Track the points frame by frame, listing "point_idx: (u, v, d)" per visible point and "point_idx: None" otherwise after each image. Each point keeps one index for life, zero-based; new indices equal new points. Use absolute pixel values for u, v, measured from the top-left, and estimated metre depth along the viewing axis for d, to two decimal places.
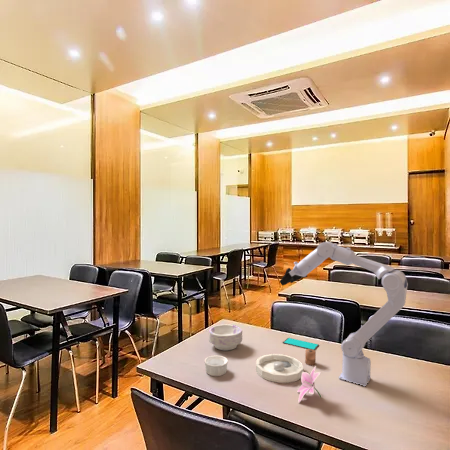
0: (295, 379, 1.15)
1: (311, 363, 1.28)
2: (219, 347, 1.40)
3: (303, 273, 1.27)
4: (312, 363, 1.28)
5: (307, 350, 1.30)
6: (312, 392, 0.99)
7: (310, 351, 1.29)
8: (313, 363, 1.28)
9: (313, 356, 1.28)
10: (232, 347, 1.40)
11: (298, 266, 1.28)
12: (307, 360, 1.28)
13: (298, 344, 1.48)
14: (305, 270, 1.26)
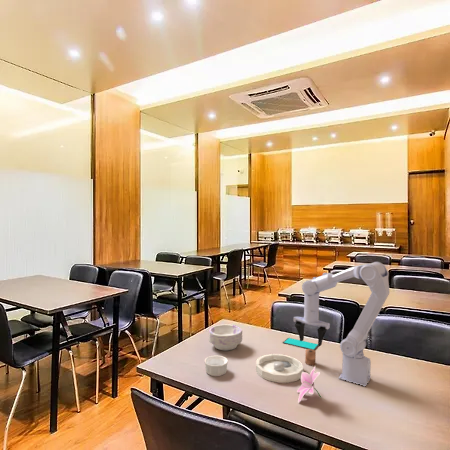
0: (295, 379, 1.15)
1: (311, 363, 1.28)
2: (219, 347, 1.40)
3: (304, 319, 1.29)
4: (312, 363, 1.28)
5: (307, 350, 1.30)
6: (312, 392, 0.99)
7: (310, 351, 1.29)
8: (313, 363, 1.28)
9: (313, 356, 1.28)
10: (232, 347, 1.40)
11: None
12: (307, 360, 1.28)
13: (298, 344, 1.48)
14: (304, 315, 1.29)
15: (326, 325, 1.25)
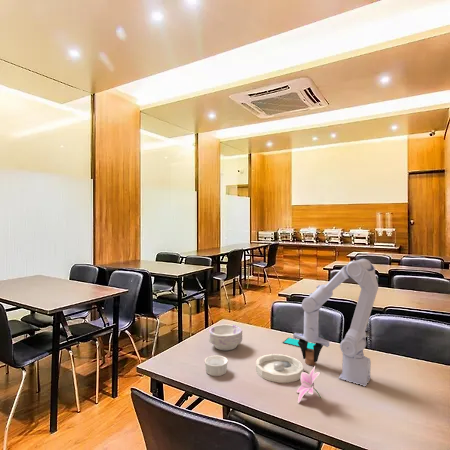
0: (295, 379, 1.15)
1: (311, 363, 1.28)
2: (219, 347, 1.40)
3: (304, 336, 1.29)
4: (312, 363, 1.28)
5: (307, 350, 1.30)
6: (312, 392, 0.99)
7: (310, 351, 1.29)
8: (313, 363, 1.28)
9: (313, 356, 1.28)
10: (232, 347, 1.40)
11: None
12: (307, 360, 1.28)
13: (298, 344, 1.48)
14: None
15: (326, 343, 1.25)
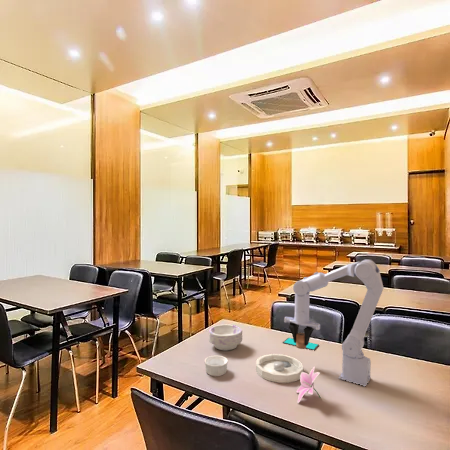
0: (295, 379, 1.15)
1: (302, 346, 1.26)
2: (219, 347, 1.40)
3: (294, 319, 1.28)
4: (303, 346, 1.26)
5: (298, 334, 1.29)
6: (311, 392, 0.99)
7: (301, 334, 1.28)
8: (304, 346, 1.27)
9: (304, 339, 1.27)
10: (232, 347, 1.40)
11: None
12: (298, 343, 1.27)
13: None
14: None
15: (316, 326, 1.23)
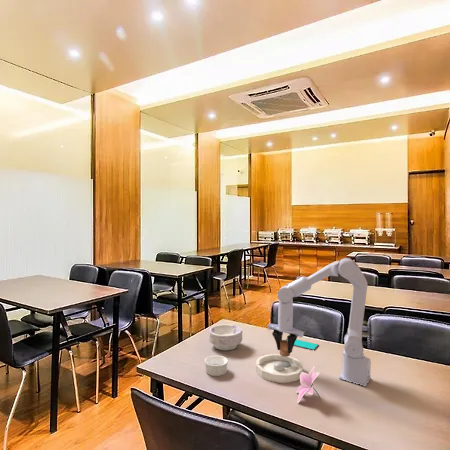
0: (295, 379, 1.15)
1: (285, 354, 1.24)
2: (219, 347, 1.40)
3: (278, 326, 1.26)
4: (286, 354, 1.24)
5: (282, 341, 1.27)
6: (311, 392, 0.99)
7: (285, 342, 1.26)
8: (287, 354, 1.25)
9: (287, 347, 1.24)
10: (232, 347, 1.40)
11: None
12: (281, 351, 1.25)
13: (298, 344, 1.48)
14: (278, 322, 1.26)
15: (299, 333, 1.21)
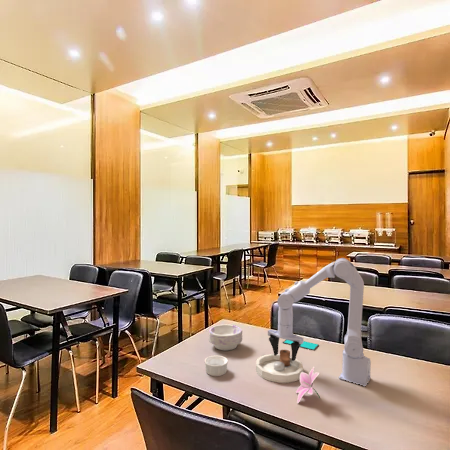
0: (295, 379, 1.15)
1: (285, 364, 1.24)
2: (219, 347, 1.40)
3: (278, 333, 1.26)
4: (286, 364, 1.24)
5: (281, 351, 1.27)
6: (311, 393, 0.99)
7: (285, 351, 1.26)
8: (287, 364, 1.25)
9: (287, 357, 1.25)
10: (232, 347, 1.40)
11: None
12: (281, 361, 1.25)
13: None
14: (278, 328, 1.26)
15: (299, 340, 1.21)
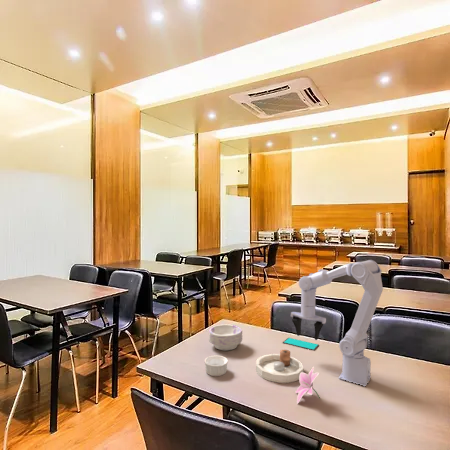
0: (295, 379, 1.15)
1: (285, 364, 1.24)
2: (219, 347, 1.40)
3: (301, 314, 1.32)
4: (286, 364, 1.24)
5: (282, 351, 1.27)
6: (311, 393, 0.99)
7: (285, 352, 1.26)
8: (287, 364, 1.25)
9: (287, 357, 1.24)
10: (232, 347, 1.40)
11: None
12: (281, 361, 1.25)
13: (298, 344, 1.48)
14: (301, 310, 1.33)
15: (322, 320, 1.28)
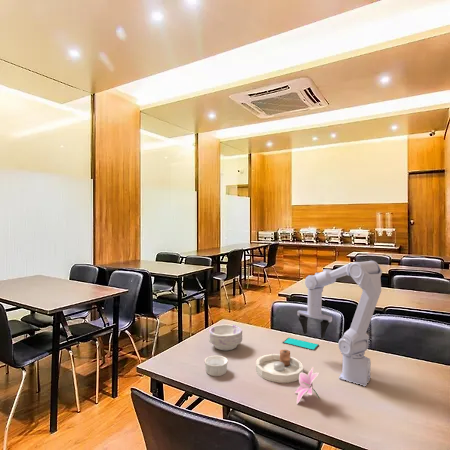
0: (295, 379, 1.15)
1: (285, 364, 1.24)
2: (219, 347, 1.40)
3: (308, 312, 1.34)
4: (286, 364, 1.24)
5: (281, 351, 1.27)
6: (310, 393, 0.99)
7: (285, 352, 1.26)
8: (287, 364, 1.25)
9: (287, 357, 1.24)
10: (232, 347, 1.40)
11: None
12: (281, 361, 1.25)
13: (298, 344, 1.48)
14: (307, 308, 1.35)
15: (329, 318, 1.30)
